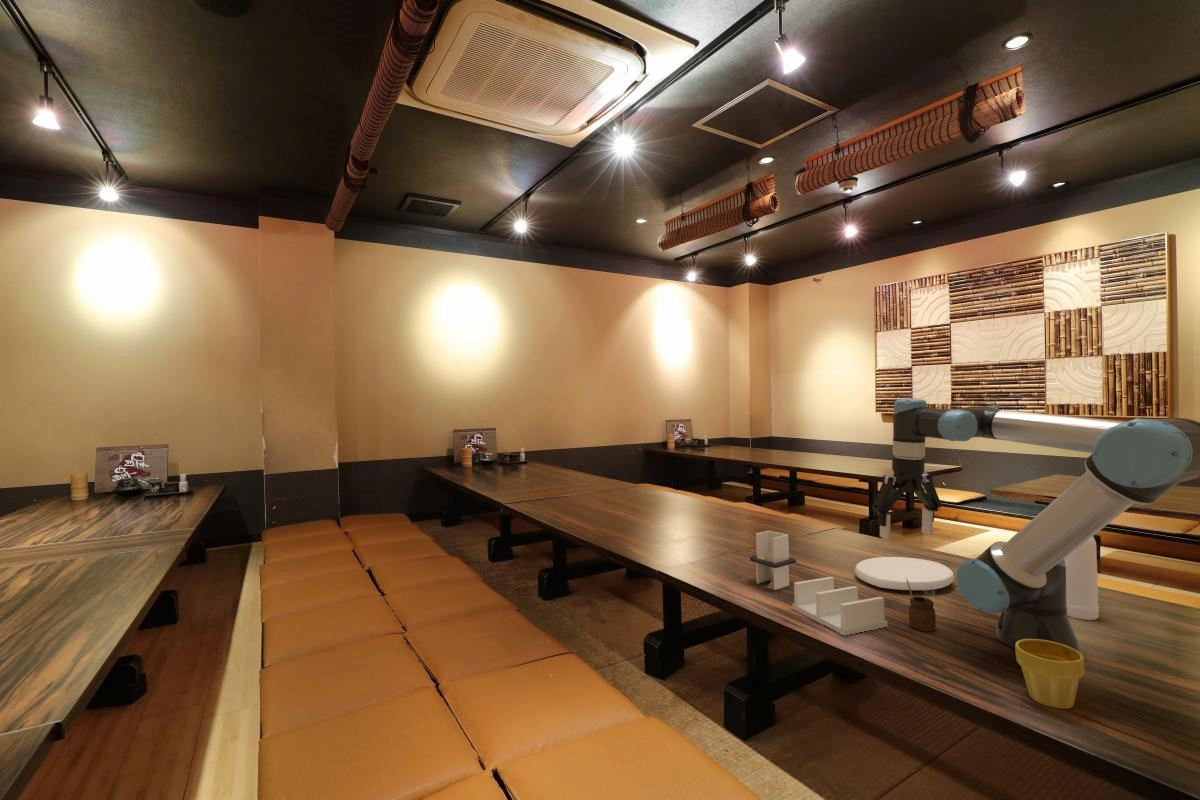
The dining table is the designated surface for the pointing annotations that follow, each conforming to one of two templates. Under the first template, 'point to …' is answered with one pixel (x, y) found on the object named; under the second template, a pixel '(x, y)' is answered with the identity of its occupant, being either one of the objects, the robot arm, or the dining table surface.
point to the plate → (904, 573)
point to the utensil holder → (922, 613)
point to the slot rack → (838, 606)
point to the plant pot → (1050, 671)
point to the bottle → (1082, 582)
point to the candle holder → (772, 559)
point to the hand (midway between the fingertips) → (906, 535)
